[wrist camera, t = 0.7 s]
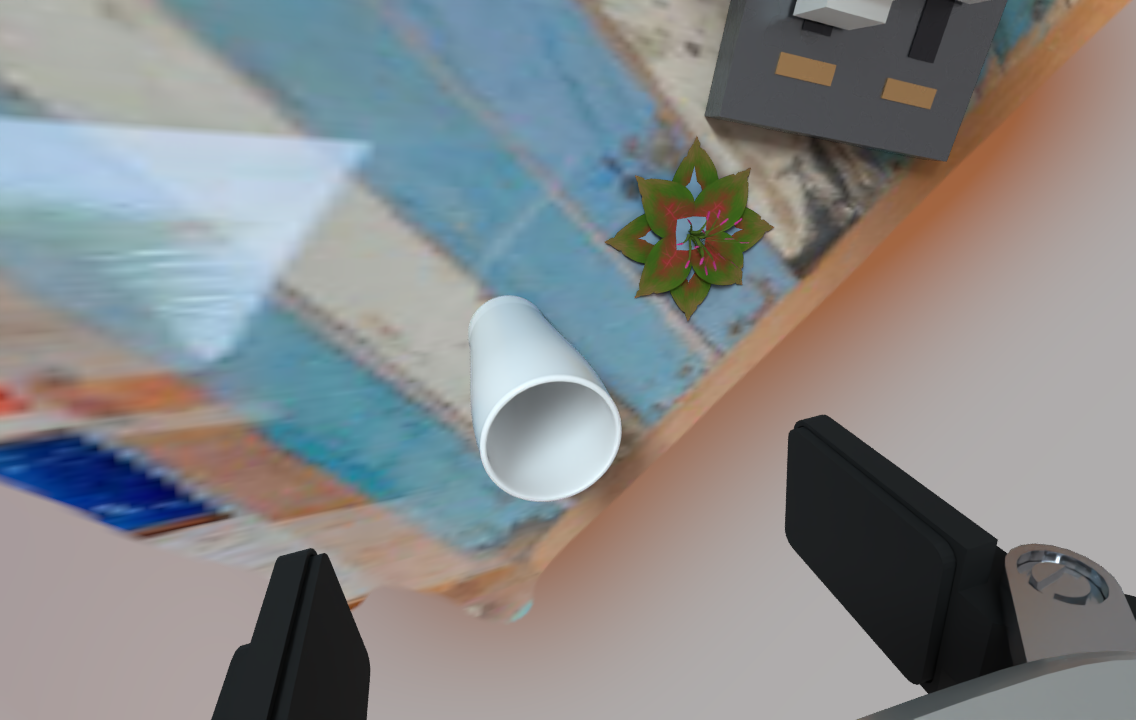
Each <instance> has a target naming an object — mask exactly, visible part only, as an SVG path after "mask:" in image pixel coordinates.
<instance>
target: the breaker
mask: <svg viewBox="0 0 1136 720" xmlns="http://www.w3.org/2000/svg"><path fill="white" fill-rule="evenodd" d="M892 1H894V0H797V2H796V6H795V9H794V13H793V15H794V16H797V17H801V18H805V19H809V20H812V21H816V22H820V23H824V24H827V25H831V26H835V27H839V28H842V29H846V30H853V29H858V28H864V27H869V26H874V25H880V24H885V23H886V20H887V17H888V14H889V10H890V7H891V4H892Z"/></svg>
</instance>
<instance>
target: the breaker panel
mask: <svg viewBox="0 0 1136 720" xmlns="http://www.w3.org/2000/svg"><path fill="white" fill-rule="evenodd" d="M796 2H797V0H731V2H730V6H729V10H728V15H727V19H726V24H725V28H724V33H723V37H722V41H721V46H720V50H719V55H718V59H717V63H716V68H715V72H714V77H713V81H712V85H711V90H710V94H709V99H708V103H707V107H706V112H705V116H706V117H711V118H717V119H722V120H727V121H732V122H737V123H742V124H747V125H752V126H757V127H762V128H767V129H772V130H777V131H782V132H787V133H792V134H797V135H803V136H808V137H813V138H818V139H823V140H828V141H833V142H838V143H843V144H848V145H853V146H858V147H863V148H868V149H873V150H878V151H883V152H889V153H894V154H899V155H904V156H909V157H914V158H919V159H924V160H935V161H946V162H947V159H948V156H949V154H950V151H951V148H952V146H953V143H954V140H955V138H956V135H957V133H958V130H959V127H960V125H961V122H962V119H963V117H964V114H965V111H966V109H967V106H968V103H969V101H970V98H971V95H972V93H973V90H974V87H975V85H976V82H977V79H978V77H979V74H980V71H981V69H982V66H983V64H984V61H985V58H986V56H987V53H988V50H989V48H990V45H991V42H992V40H993V37H994V34H995V32H996V29H997V26H998V24H999V21H1000V18H1001V16H1002V13H1003V10H1004V8H1005V5H1006V3H1007V0H989V1H984V2H979V3H974V4H968V3H965V2H961V1H958V0H894V1H892V4H891V7H890V10H889V14H888V17H887V20H886V23H885V24H880V25H874V26H869V27H864V28H858V29H853V30H846V29H842V28H839V27H835V26H831V25H827V24H824V23H820V22H816V21H812V20H809V19H805V18H801V17H797V16H794V15H793V13H794V9H795V6H796Z"/></svg>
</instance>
